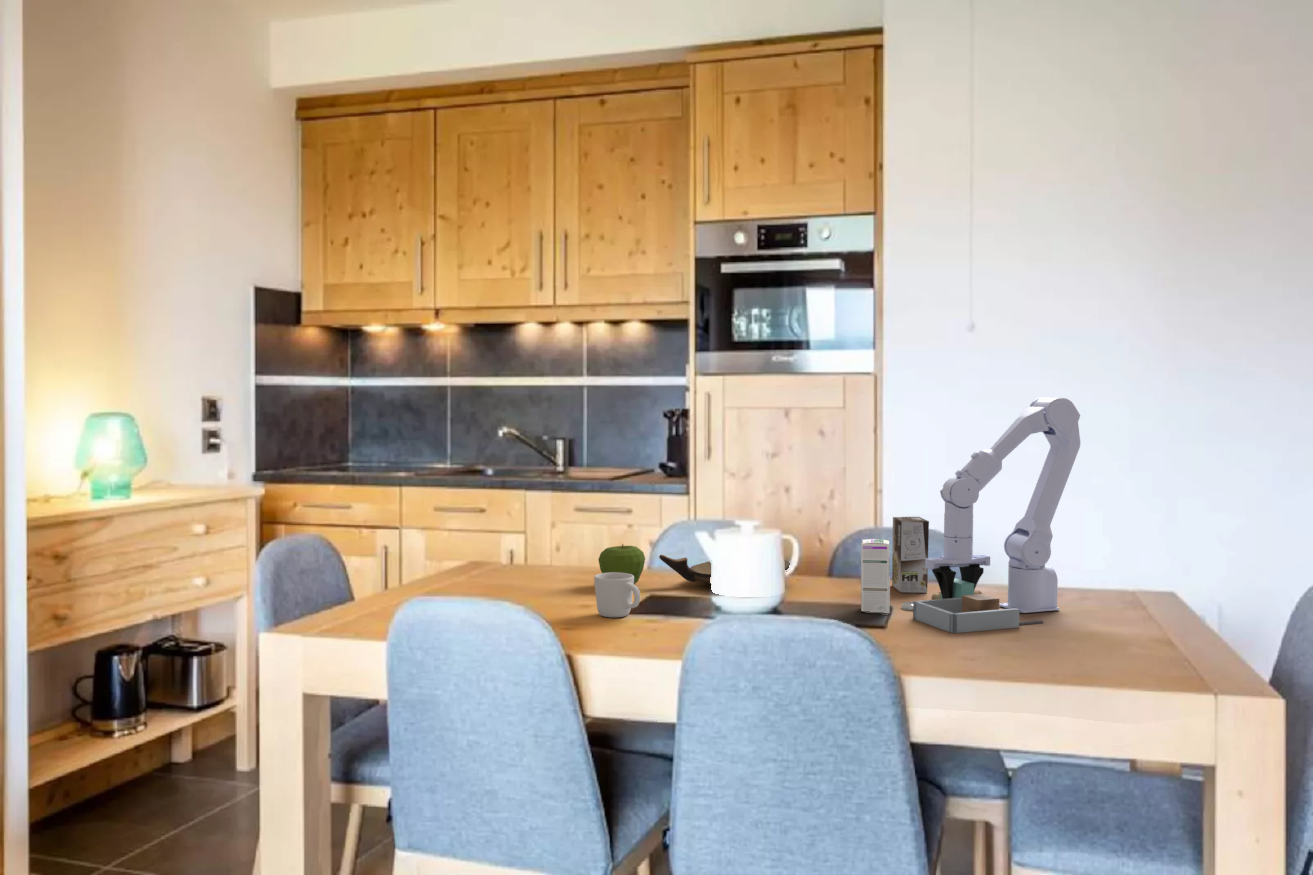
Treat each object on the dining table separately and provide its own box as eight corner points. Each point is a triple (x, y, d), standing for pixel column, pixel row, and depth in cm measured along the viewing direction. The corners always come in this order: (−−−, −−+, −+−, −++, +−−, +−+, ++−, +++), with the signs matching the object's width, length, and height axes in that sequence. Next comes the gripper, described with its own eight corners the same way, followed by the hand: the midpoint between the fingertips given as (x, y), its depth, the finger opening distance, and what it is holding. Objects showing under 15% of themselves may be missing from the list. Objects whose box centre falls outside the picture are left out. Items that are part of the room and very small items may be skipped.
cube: (982, 618, 212) (983, 593, 211) (998, 624, 207) (999, 598, 207) (961, 620, 210) (962, 595, 210) (977, 626, 205) (977, 600, 205)
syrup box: (889, 615, 214) (891, 543, 214) (859, 613, 215) (861, 542, 215) (889, 609, 220) (890, 539, 219) (860, 607, 221) (861, 538, 220)
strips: (1010, 612, 217) (1010, 610, 217) (1043, 623, 208) (1043, 620, 208) (985, 614, 215) (985, 612, 215) (1017, 625, 206) (1017, 623, 206)
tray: (976, 613, 216) (976, 596, 216) (1018, 627, 204) (1019, 609, 204) (913, 618, 211) (913, 601, 211) (952, 633, 199) (952, 614, 198)
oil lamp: (791, 597, 232) (791, 562, 232) (655, 592, 237) (655, 558, 237) (794, 579, 254) (795, 547, 254) (670, 574, 259) (670, 543, 259)
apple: (624, 580, 250) (625, 538, 249) (655, 587, 242) (655, 543, 242) (588, 586, 242) (588, 543, 242) (618, 593, 235) (619, 548, 234)
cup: (652, 617, 211) (652, 577, 210) (624, 624, 205) (624, 582, 205) (614, 609, 218) (614, 570, 218) (585, 615, 212) (585, 575, 212)
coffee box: (928, 593, 237) (929, 521, 236) (899, 593, 237) (900, 520, 236) (919, 585, 246) (920, 516, 245) (891, 585, 246) (892, 515, 245)
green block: (952, 606, 223) (953, 577, 223) (973, 613, 217) (974, 583, 217) (940, 607, 222) (941, 578, 222) (961, 614, 216) (961, 584, 216)
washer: (915, 607, 224) (915, 601, 223) (927, 611, 219) (927, 605, 219) (897, 608, 222) (897, 602, 222) (909, 612, 218) (909, 606, 218)
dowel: (977, 599, 231) (978, 588, 231) (984, 601, 229) (984, 590, 229) (928, 603, 227) (929, 592, 227) (935, 605, 225) (935, 594, 225)
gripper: (975, 532, 225) (974, 595, 226) (917, 535, 220) (915, 600, 221) (997, 536, 218) (995, 602, 219) (937, 539, 214) (935, 607, 214)
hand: (957, 601), depth 220 cm, fingers open, 4 cm apart
